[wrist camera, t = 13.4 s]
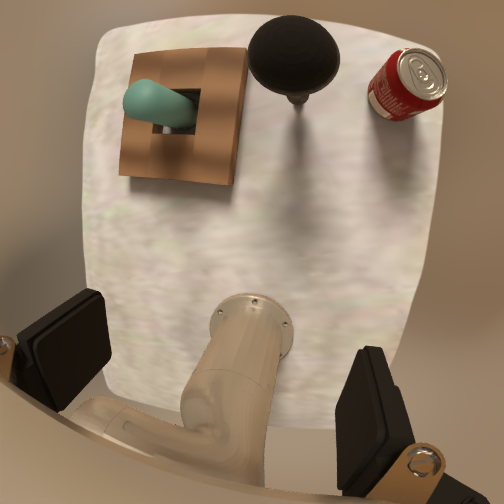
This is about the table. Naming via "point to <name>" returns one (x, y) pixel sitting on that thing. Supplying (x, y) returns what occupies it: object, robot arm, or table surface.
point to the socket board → (208, 119)
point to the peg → (159, 105)
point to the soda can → (408, 84)
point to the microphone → (293, 57)
